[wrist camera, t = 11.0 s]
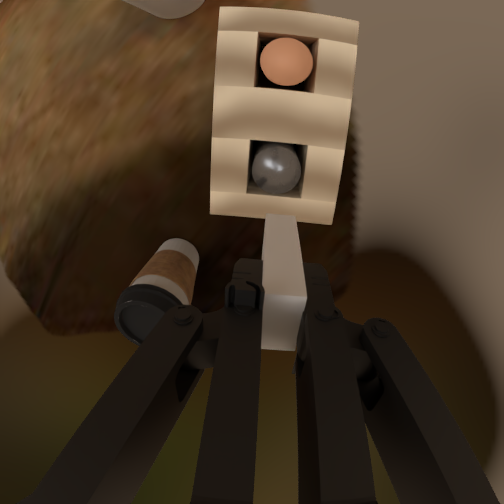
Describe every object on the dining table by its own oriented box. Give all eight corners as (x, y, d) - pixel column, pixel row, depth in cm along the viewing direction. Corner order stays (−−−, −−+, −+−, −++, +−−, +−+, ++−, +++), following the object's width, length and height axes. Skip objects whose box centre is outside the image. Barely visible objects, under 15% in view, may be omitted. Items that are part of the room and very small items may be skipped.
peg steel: (257, 130, 34) (253, 145, 27) (296, 134, 34) (303, 150, 27) (254, 166, 37) (250, 191, 29) (292, 169, 37) (297, 196, 29)
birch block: (232, 24, 28) (219, 6, 21) (338, 34, 28) (359, 21, 20) (222, 184, 39) (210, 213, 31) (319, 193, 38) (331, 225, 31)
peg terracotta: (264, 47, 29) (262, 35, 22) (304, 51, 29) (314, 41, 21) (261, 83, 32) (258, 83, 24) (300, 87, 31) (310, 88, 24)
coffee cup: (205, 285, 46) (183, 363, 34) (151, 274, 46) (114, 346, 33) (210, 235, 42) (185, 309, 29) (151, 225, 42) (105, 291, 29)
